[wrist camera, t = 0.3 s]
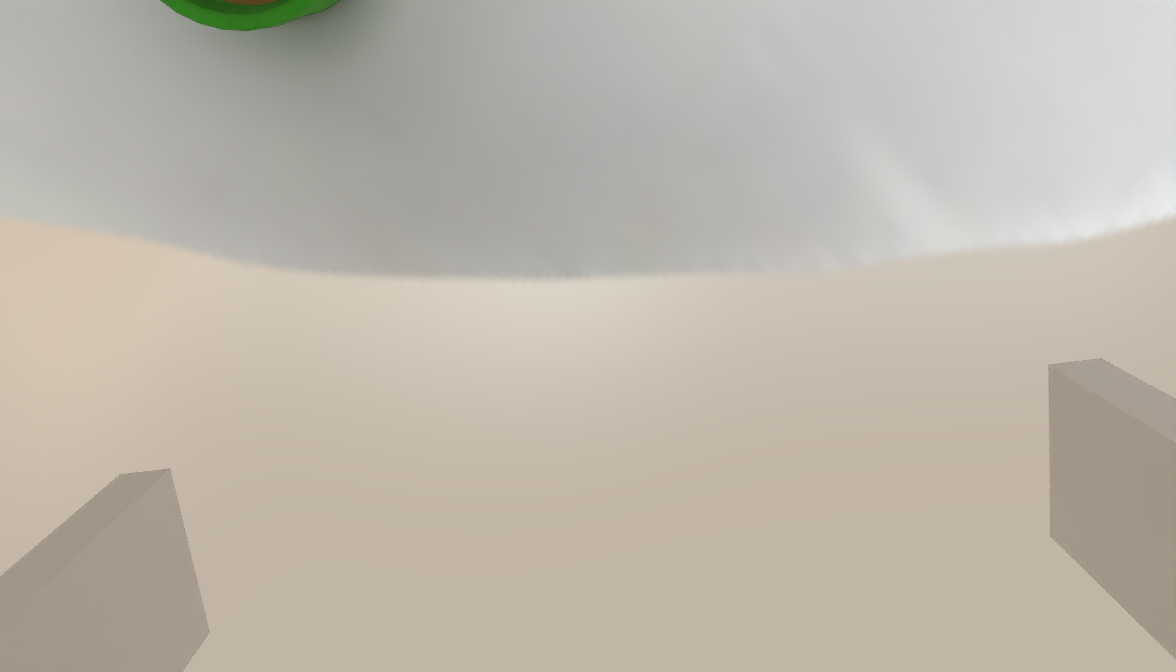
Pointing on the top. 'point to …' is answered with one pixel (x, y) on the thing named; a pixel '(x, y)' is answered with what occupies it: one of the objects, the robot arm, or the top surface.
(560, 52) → the top surface
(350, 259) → the top surface
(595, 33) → the top surface
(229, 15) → the potted flower
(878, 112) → the top surface
